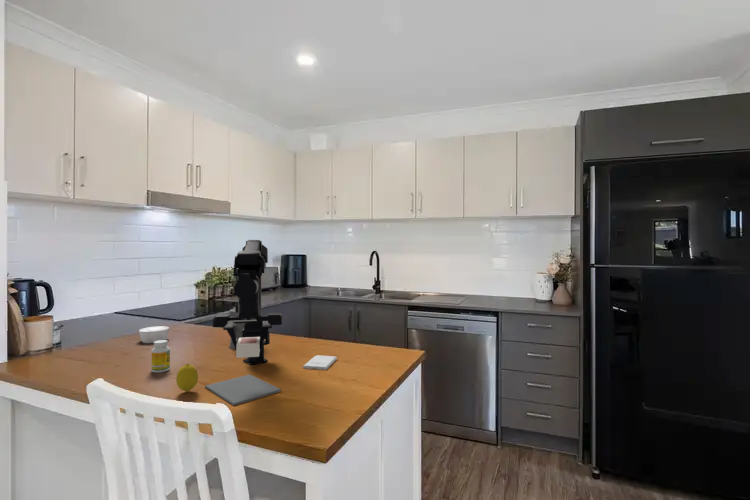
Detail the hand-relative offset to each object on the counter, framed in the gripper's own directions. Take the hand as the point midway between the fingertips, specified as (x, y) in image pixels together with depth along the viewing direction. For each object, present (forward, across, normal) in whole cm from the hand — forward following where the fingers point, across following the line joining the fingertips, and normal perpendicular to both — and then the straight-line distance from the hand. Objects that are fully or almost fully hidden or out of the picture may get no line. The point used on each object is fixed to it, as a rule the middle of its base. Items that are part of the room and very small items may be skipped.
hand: (248, 349), depth 112 cm
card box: (+1, 0, 0) cm, 1 cm away
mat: (+11, +2, 0) cm, 12 cm away
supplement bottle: (+11, +30, -24) cm, 40 cm away
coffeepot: (+11, +8, -51) cm, 53 cm away
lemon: (+12, +17, -1) cm, 20 cm away
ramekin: (+11, +45, -68) cm, 82 cm away
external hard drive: (+12, -22, -20) cm, 33 cm away
